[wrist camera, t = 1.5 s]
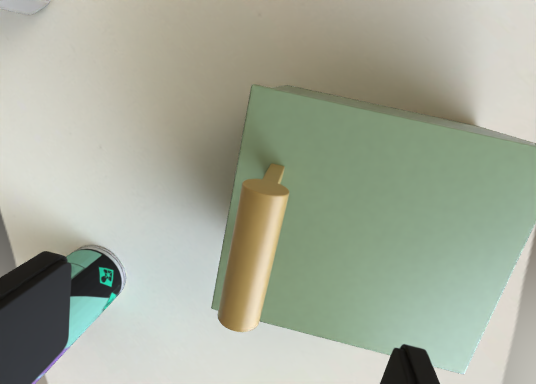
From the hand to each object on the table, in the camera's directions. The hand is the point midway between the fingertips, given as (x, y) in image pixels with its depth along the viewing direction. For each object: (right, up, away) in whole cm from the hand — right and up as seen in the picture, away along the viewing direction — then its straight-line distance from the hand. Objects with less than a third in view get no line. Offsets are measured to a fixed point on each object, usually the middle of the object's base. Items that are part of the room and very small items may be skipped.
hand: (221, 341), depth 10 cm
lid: (+6, +2, +9) cm, 11 cm away
